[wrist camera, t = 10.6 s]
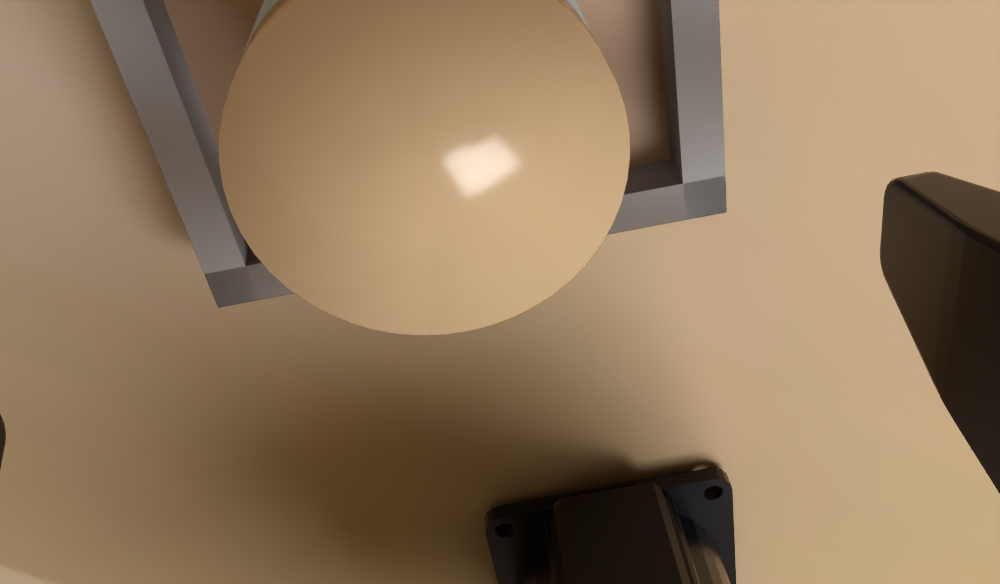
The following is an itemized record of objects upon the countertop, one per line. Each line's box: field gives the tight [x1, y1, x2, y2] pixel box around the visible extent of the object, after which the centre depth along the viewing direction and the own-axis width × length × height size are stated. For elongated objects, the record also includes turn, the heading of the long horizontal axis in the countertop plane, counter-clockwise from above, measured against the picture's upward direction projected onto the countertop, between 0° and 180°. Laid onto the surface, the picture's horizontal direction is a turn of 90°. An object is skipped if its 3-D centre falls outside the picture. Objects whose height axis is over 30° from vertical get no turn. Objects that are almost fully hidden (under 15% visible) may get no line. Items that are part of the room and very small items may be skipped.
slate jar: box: [219, 0, 630, 335], centre depth 14 cm, size 5×5×6 cm
